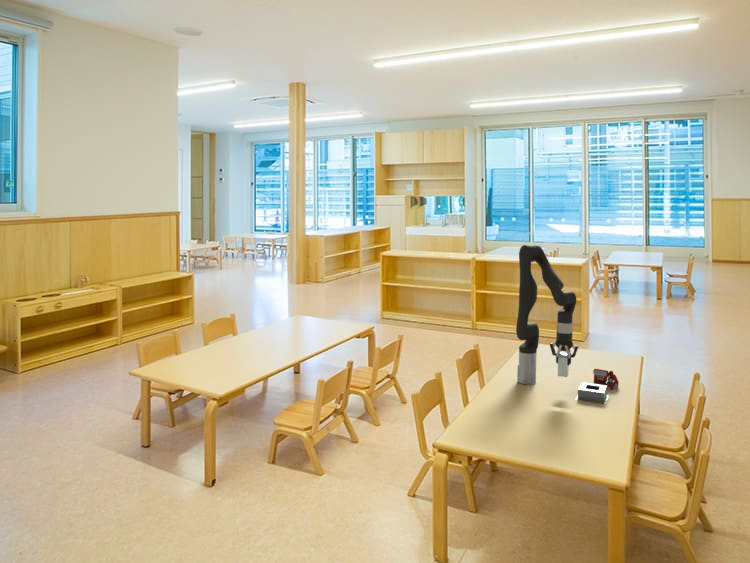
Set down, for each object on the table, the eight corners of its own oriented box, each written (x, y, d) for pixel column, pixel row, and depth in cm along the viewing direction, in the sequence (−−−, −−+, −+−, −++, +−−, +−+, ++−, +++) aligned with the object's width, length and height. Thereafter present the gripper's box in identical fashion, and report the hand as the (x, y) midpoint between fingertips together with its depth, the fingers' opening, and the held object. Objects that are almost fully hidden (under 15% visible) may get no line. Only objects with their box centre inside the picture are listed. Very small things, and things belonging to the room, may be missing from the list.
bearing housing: (575, 402, 275) (575, 389, 274) (579, 393, 287) (579, 381, 286) (605, 407, 268) (606, 394, 267) (608, 397, 281) (609, 385, 280)
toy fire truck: (616, 393, 286) (617, 374, 284) (591, 389, 293) (591, 370, 291) (619, 389, 292) (620, 370, 290) (594, 385, 299) (595, 366, 297)
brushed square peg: (557, 376, 281) (558, 354, 279) (559, 373, 285) (559, 352, 283) (566, 377, 279) (567, 355, 277) (568, 374, 283) (569, 353, 281)
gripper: (548, 331, 278) (547, 364, 281) (578, 334, 272) (577, 368, 274) (551, 328, 285) (550, 360, 287) (580, 330, 278) (579, 364, 281)
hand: (563, 364), depth 281 cm, fingers closed on brushed square peg, 4 cm apart
